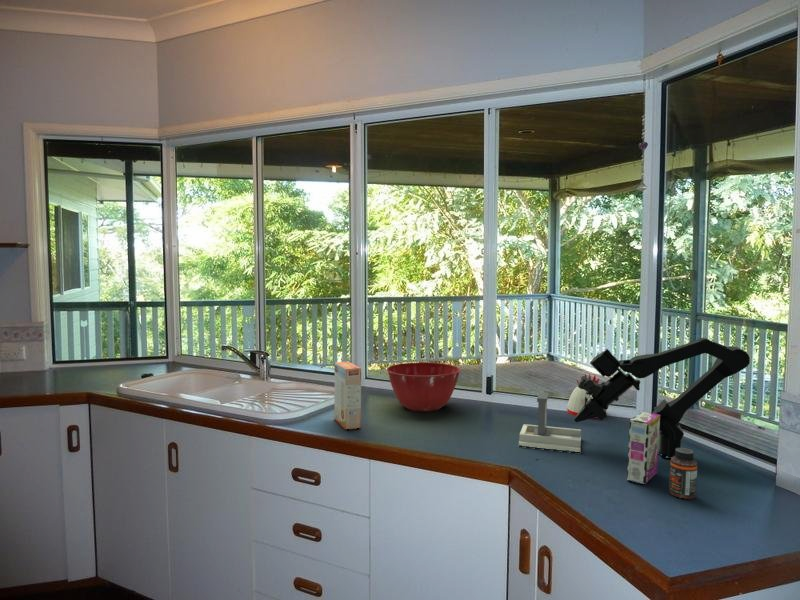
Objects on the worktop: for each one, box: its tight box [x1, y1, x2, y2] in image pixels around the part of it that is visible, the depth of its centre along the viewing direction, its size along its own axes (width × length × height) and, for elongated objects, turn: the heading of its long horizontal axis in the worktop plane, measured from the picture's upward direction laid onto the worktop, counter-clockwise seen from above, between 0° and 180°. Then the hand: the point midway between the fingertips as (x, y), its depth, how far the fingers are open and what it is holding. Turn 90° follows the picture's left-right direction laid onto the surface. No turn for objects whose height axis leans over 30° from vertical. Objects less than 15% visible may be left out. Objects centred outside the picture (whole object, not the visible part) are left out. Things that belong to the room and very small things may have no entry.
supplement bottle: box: [668, 447, 698, 500], centre depth 137 cm, size 6×6×11 cm
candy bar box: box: [626, 411, 660, 485], centre depth 148 cm, size 11×5×16 cm, turn 141°
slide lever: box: [533, 391, 551, 436], centre depth 176 cm, size 5×8×13 cm, turn 161°
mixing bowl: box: [386, 361, 461, 413], centre depth 217 cm, size 28×28×16 cm
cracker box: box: [333, 361, 362, 430], centre depth 195 cm, size 14×6×21 cm, turn 22°
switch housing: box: [518, 423, 582, 453], centre depth 176 cm, size 18×14×4 cm
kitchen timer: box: [566, 373, 600, 417], centre depth 210 cm, size 14×14×15 cm
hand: (575, 420), depth 173 cm, fingers closed
